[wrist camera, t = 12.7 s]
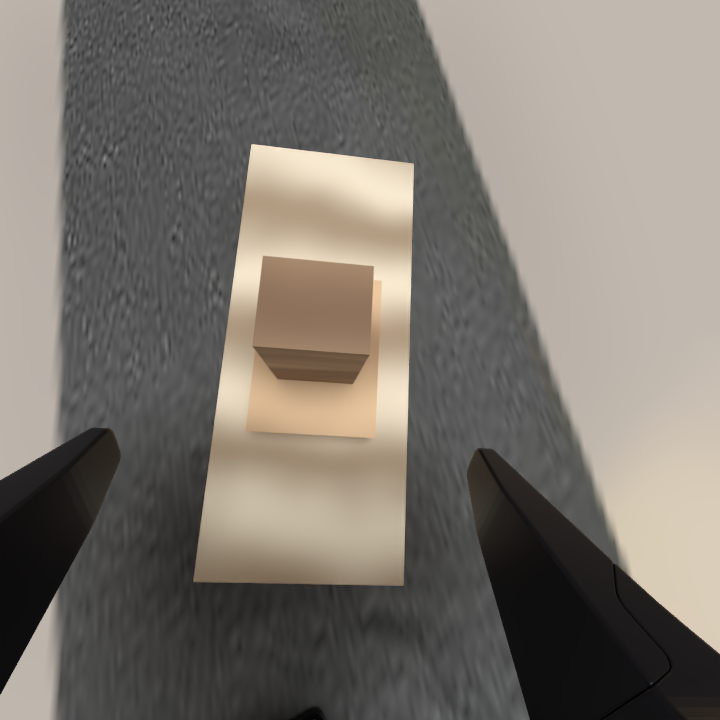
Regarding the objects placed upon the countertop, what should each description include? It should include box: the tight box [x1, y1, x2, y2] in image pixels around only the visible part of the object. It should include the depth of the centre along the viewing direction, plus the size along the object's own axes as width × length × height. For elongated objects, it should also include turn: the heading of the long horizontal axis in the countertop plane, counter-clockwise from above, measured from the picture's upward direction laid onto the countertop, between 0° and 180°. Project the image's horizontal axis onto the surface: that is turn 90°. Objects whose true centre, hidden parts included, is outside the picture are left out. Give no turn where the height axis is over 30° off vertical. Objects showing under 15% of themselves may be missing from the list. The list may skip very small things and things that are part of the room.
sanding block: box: [246, 256, 382, 438], centre depth 16 cm, size 8×6×8 cm
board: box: [193, 144, 414, 586], centre depth 22 cm, size 24×10×3 cm, turn 177°
